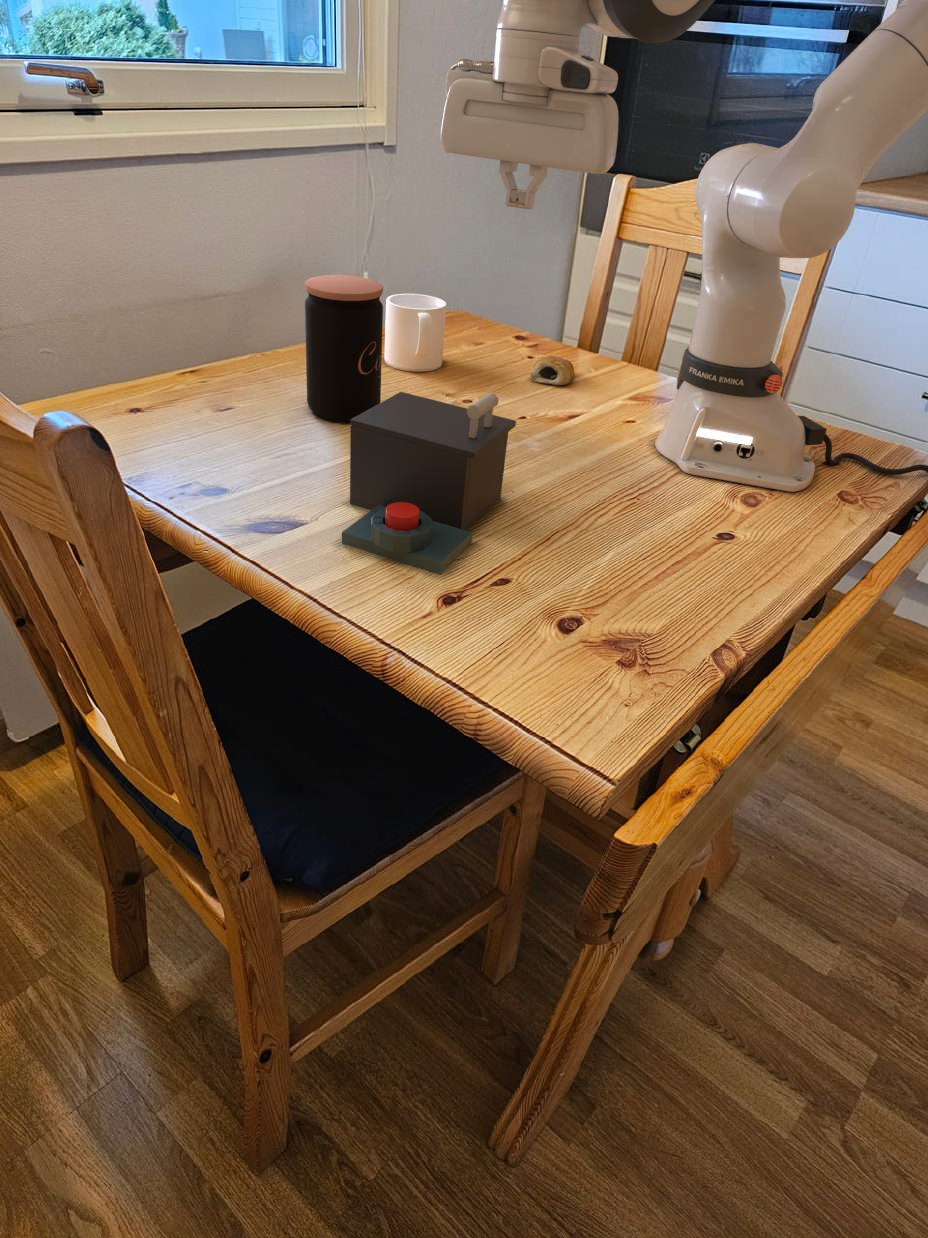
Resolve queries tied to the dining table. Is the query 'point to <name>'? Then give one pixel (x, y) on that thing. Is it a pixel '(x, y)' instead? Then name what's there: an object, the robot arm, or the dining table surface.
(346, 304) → the coffee jar
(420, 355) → the mug
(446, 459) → the dark grey box
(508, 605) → the dining table surface
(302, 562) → the dining table surface
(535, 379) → the pastry
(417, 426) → the lid
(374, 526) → the control block
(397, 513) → the button
